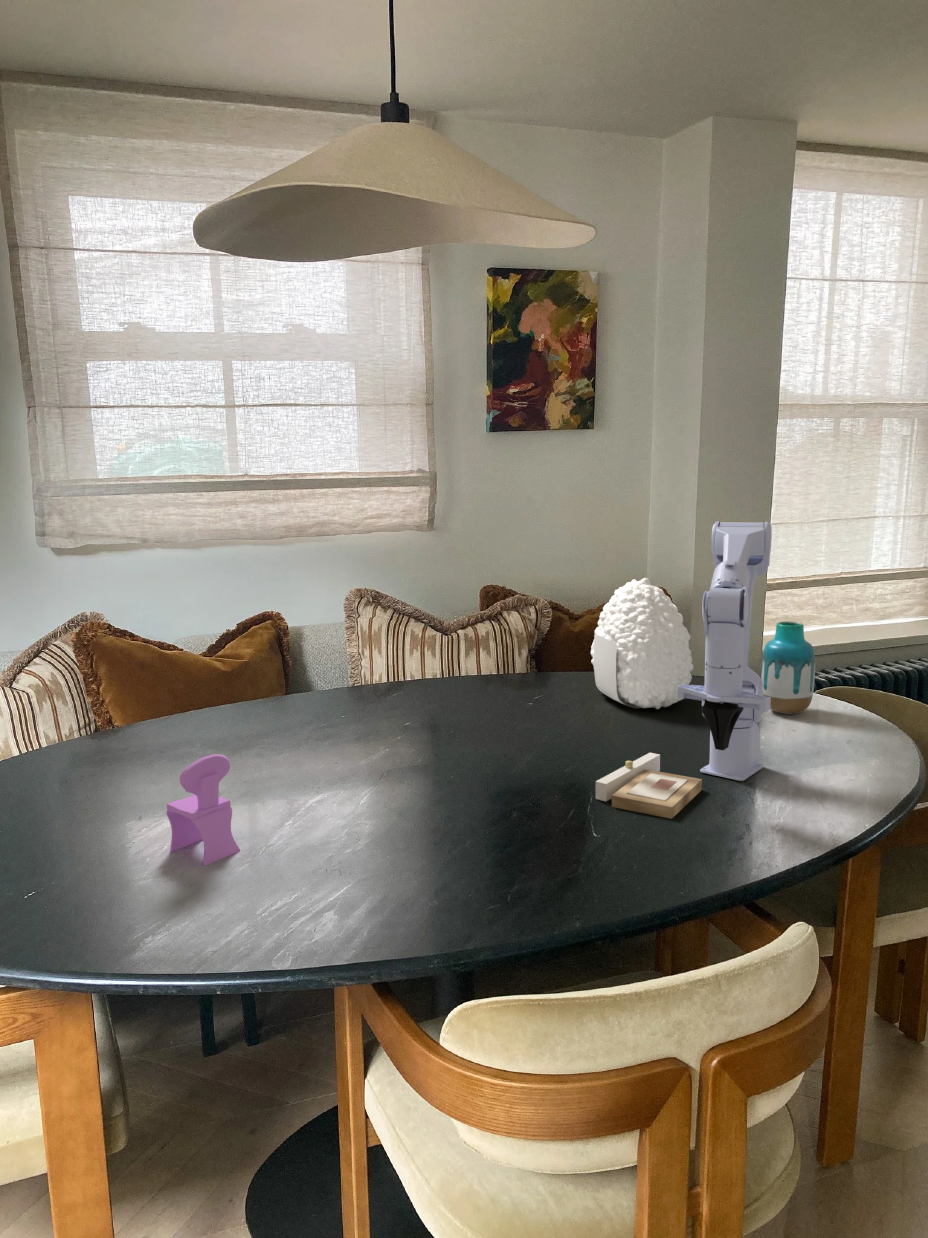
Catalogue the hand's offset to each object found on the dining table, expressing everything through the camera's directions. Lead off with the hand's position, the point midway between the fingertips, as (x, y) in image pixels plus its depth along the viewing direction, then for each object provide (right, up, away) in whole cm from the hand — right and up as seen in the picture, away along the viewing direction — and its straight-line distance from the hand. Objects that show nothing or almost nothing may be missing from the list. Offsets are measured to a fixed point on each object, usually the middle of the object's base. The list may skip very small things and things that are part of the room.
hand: (721, 748), depth 149 cm
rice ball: (-1, +2, +63) cm, 63 cm away
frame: (-9, -9, +5) cm, 14 cm away
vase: (+28, 0, +51) cm, 58 cm away
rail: (-13, -8, +11) cm, 19 cm away
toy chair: (-79, -14, -11) cm, 81 cm away
